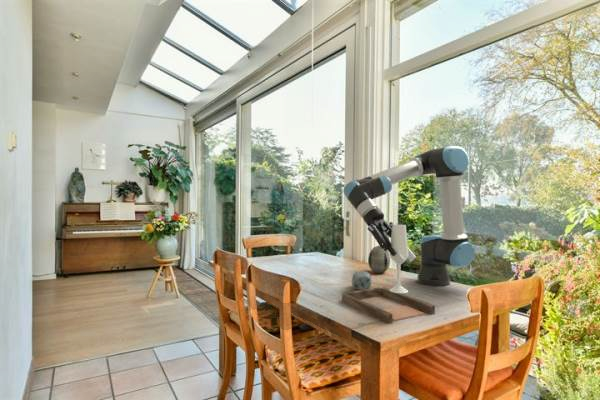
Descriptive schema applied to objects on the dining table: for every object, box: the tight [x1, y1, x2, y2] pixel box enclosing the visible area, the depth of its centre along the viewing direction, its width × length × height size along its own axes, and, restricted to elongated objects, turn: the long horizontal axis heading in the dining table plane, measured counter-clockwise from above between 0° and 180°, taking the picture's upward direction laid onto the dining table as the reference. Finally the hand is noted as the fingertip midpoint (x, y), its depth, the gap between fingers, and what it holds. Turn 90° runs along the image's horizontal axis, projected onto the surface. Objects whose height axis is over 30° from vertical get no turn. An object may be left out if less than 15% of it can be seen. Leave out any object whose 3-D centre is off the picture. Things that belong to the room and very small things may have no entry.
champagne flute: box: [388, 224, 409, 294], centre depth 129 cm, size 7×7×24 cm
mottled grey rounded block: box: [351, 269, 372, 291], centre depth 162 cm, size 14×10×10 cm
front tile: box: [383, 304, 426, 322], centre depth 129 cm, size 14×10×1 cm
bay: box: [341, 286, 436, 325], centre depth 137 cm, size 22×29×3 cm
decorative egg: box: [367, 245, 391, 274], centre depth 194 cm, size 12×12×15 cm
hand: (407, 260), depth 126 cm, fingers closed on champagne flute, 7 cm apart
